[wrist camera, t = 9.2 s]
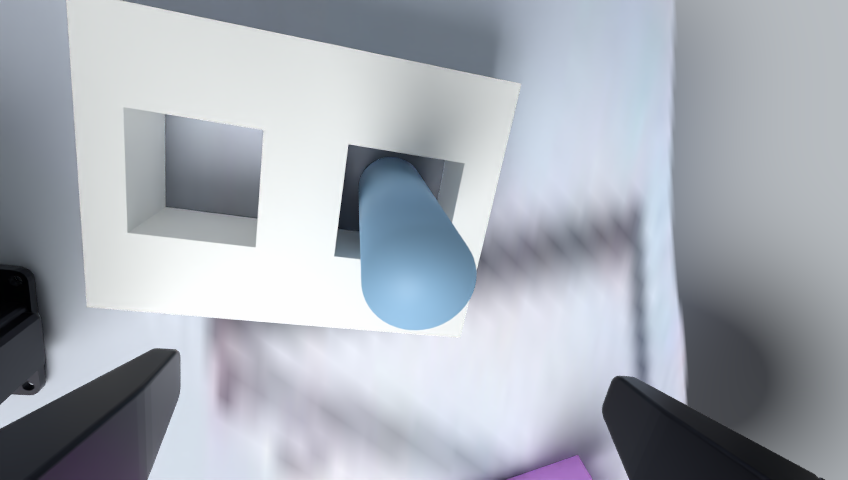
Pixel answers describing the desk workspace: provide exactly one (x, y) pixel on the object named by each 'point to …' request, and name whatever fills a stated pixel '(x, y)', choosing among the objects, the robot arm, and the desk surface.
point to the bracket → (558, 471)
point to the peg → (410, 250)
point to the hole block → (280, 166)
